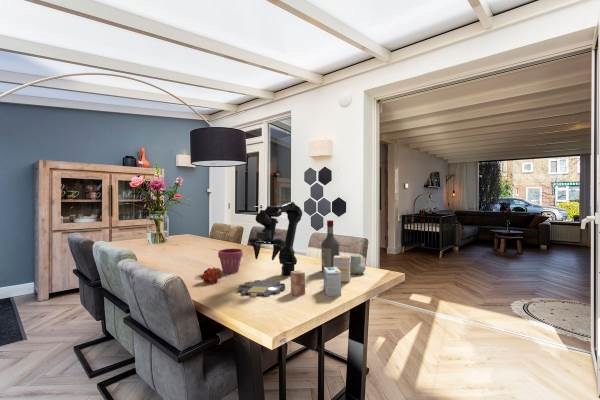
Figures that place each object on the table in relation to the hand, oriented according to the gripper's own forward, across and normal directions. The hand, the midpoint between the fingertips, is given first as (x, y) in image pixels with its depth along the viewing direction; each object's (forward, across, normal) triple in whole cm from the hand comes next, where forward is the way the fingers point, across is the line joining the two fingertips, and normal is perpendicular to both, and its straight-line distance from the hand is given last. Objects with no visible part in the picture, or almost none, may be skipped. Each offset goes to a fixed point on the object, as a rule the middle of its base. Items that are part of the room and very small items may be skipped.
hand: (264, 259), depth 153 cm
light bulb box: (+11, +33, +11) cm, 37 cm away
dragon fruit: (+14, -31, +4) cm, 34 cm away
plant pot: (+5, -35, +24) cm, 42 cm away
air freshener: (-4, +35, +46) cm, 58 cm away
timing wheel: (+14, -1, +4) cm, 14 cm away
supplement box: (+3, +32, +29) cm, 43 cm away
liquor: (-4, +20, +44) cm, 49 cm away
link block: (+14, +18, +4) cm, 23 cm away
